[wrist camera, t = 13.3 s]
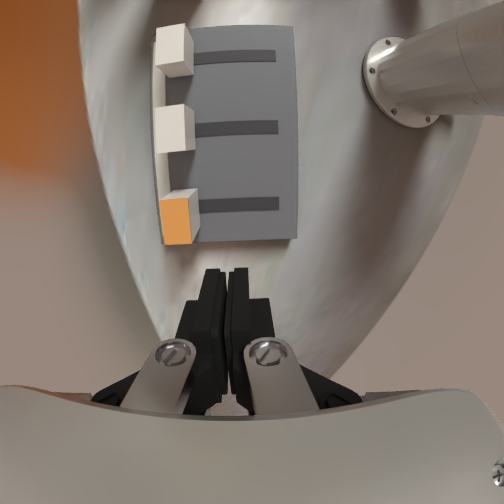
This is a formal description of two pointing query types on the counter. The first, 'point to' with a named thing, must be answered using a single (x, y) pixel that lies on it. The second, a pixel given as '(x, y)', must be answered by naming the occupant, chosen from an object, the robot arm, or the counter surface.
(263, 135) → the panel
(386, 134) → the counter surface
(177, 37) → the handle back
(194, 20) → the counter surface
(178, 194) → the handle
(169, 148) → the handle mid
